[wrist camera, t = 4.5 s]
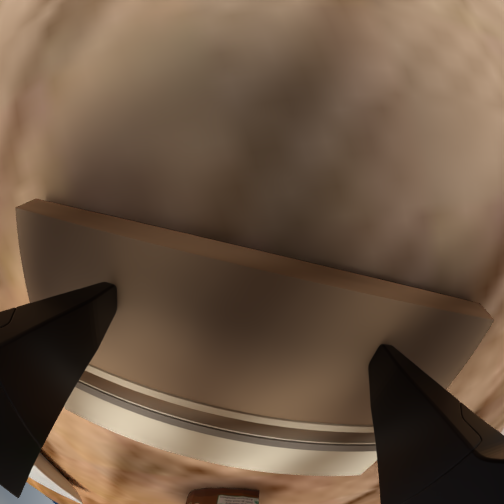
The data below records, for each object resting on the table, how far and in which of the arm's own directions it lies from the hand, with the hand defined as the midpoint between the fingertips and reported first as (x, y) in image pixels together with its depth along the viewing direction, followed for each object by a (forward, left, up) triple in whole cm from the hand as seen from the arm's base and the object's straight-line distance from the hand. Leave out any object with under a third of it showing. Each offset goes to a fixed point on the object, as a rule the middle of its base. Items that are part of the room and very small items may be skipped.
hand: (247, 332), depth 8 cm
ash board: (0, +8, -2) cm, 8 cm away
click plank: (0, +1, -1) cm, 2 cm away
